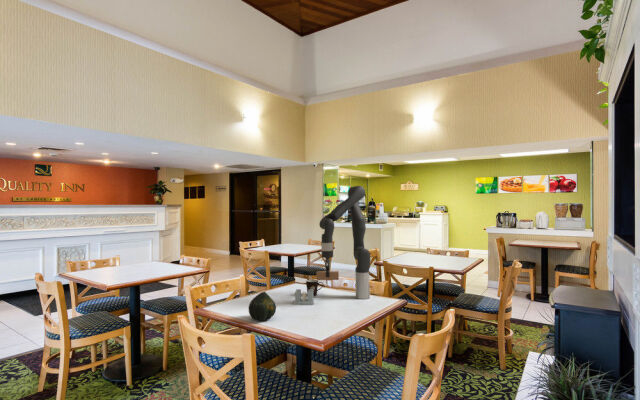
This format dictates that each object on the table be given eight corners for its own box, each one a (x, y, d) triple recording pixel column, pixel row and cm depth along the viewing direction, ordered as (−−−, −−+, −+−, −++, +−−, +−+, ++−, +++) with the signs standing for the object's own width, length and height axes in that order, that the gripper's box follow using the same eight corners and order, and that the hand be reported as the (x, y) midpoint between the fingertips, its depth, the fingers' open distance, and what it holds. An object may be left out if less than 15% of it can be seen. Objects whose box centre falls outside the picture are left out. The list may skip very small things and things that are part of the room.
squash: (251, 315, 184) (268, 290, 190) (239, 310, 196) (255, 286, 202) (270, 329, 189) (285, 305, 196) (257, 323, 201) (272, 300, 208)
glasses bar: (338, 278, 229) (338, 271, 229) (338, 279, 226) (338, 272, 226) (316, 279, 230) (316, 271, 230) (316, 280, 226) (316, 272, 227)
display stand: (314, 300, 233) (314, 288, 233) (313, 304, 223) (313, 292, 223) (295, 300, 233) (295, 288, 234) (294, 304, 223) (294, 292, 224)
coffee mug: (304, 296, 245) (304, 281, 246) (308, 293, 254) (308, 279, 254) (320, 297, 242) (320, 282, 242) (324, 294, 250) (323, 280, 251)
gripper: (333, 251, 221) (333, 278, 221) (333, 248, 235) (333, 274, 235) (320, 251, 221) (321, 279, 221) (321, 248, 235) (322, 274, 235)
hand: (327, 276), depth 228 cm, fingers closed on glasses bar, 3 cm apart
